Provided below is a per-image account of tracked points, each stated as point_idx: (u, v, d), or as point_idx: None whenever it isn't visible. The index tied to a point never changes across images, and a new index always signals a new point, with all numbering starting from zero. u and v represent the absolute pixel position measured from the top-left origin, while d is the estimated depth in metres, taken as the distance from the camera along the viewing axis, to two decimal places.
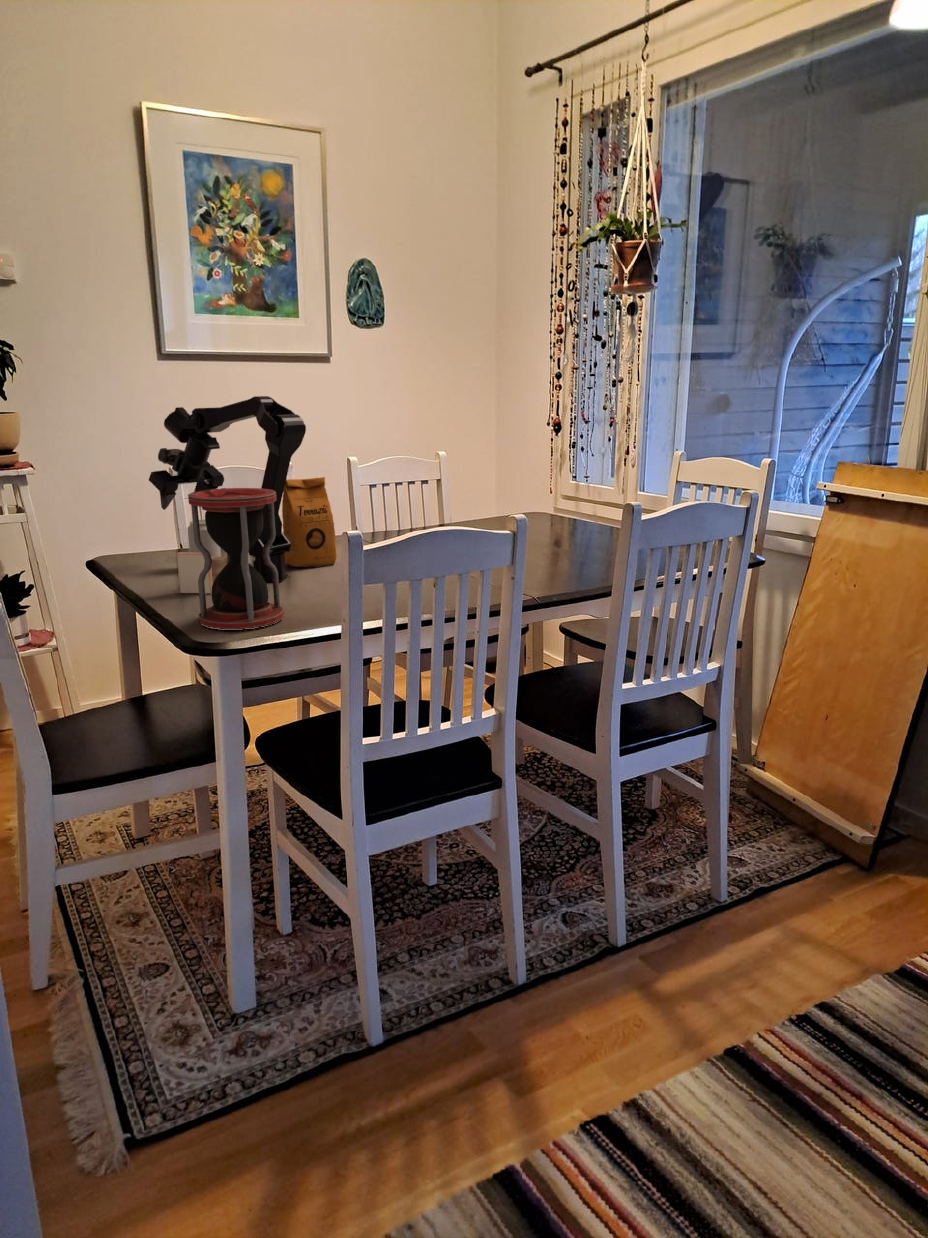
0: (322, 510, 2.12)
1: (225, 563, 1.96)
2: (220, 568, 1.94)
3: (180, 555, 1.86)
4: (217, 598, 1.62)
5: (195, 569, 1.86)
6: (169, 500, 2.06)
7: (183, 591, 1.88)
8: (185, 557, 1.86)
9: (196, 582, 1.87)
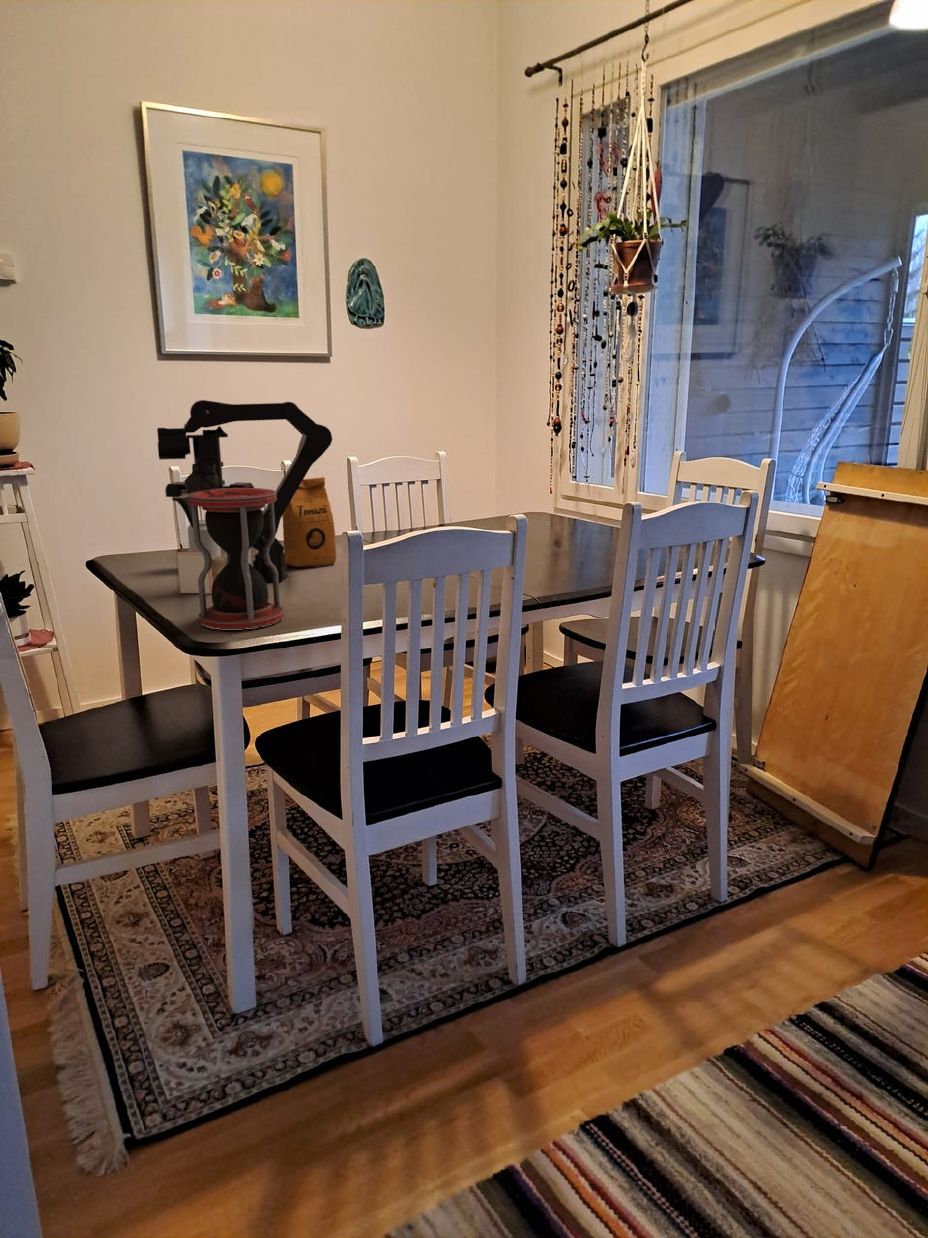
0: (322, 510, 2.12)
1: (225, 563, 1.96)
2: (220, 568, 1.94)
3: (180, 555, 1.86)
4: (217, 598, 1.62)
5: (195, 569, 1.86)
6: None
7: (183, 591, 1.88)
8: (185, 557, 1.86)
9: (196, 582, 1.87)
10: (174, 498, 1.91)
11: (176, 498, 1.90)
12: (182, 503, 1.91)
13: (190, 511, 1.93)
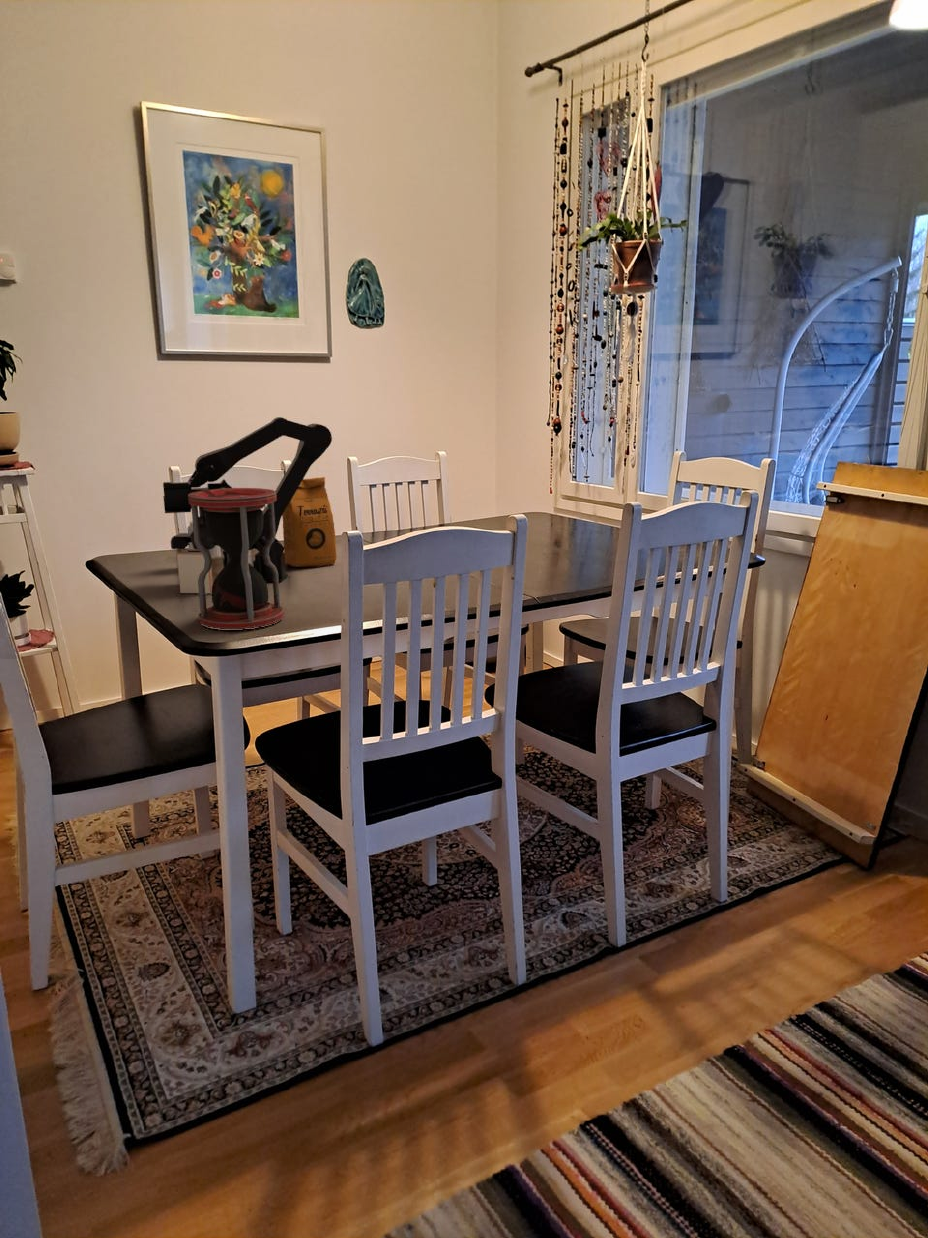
0: (322, 510, 2.12)
1: None
2: (220, 568, 1.94)
3: (180, 555, 1.86)
4: (217, 598, 1.62)
5: (195, 569, 1.86)
6: None
7: (183, 591, 1.88)
8: (185, 557, 1.86)
9: (196, 582, 1.87)
10: (189, 550, 1.93)
11: (192, 550, 1.93)
12: None
13: None
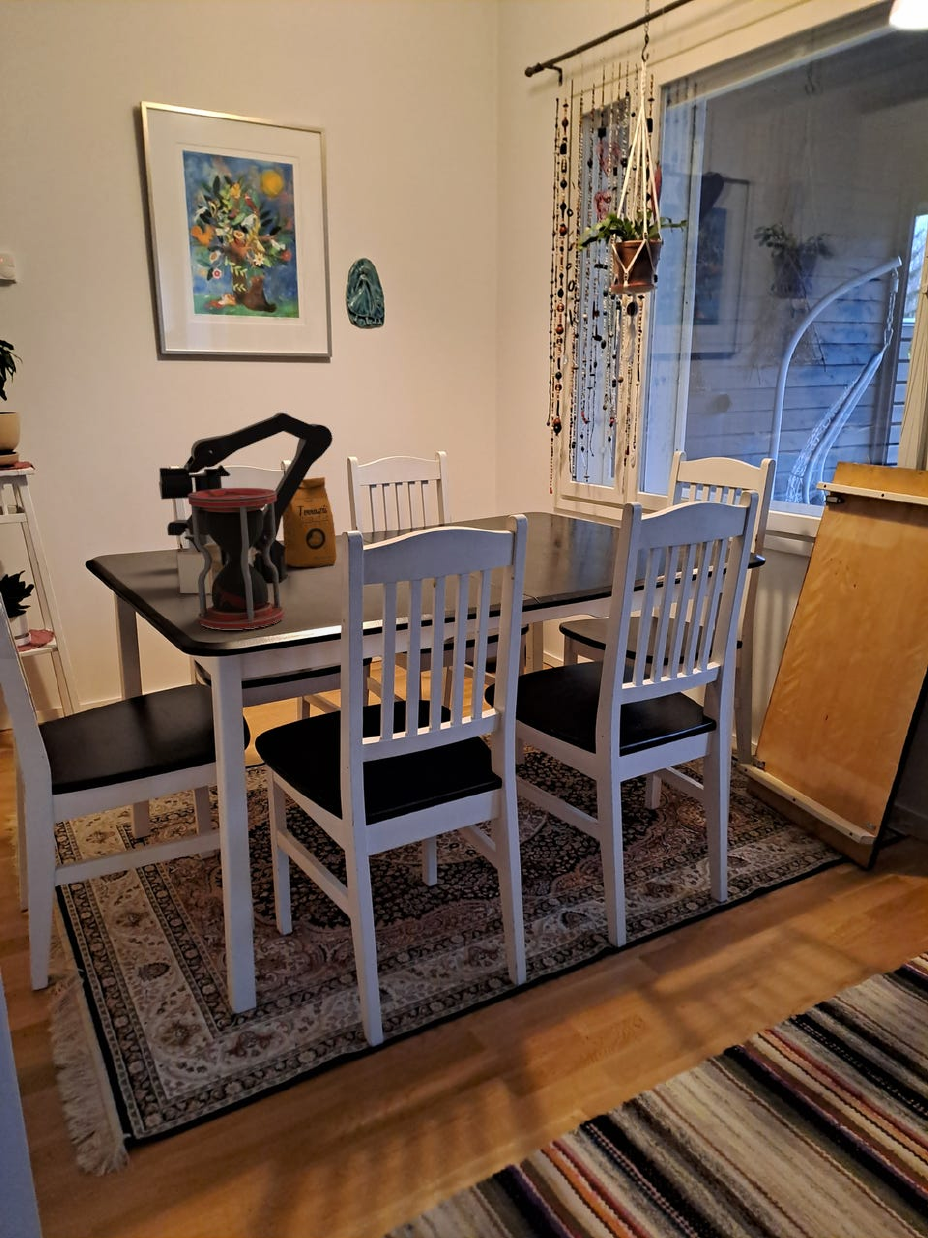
0: (322, 510, 2.12)
1: None
2: (217, 554, 1.92)
3: (180, 555, 1.86)
4: (217, 598, 1.62)
5: (195, 569, 1.86)
6: None
7: (183, 591, 1.88)
8: (185, 557, 1.86)
9: (196, 582, 1.87)
10: (186, 536, 1.91)
11: (188, 537, 1.91)
12: (194, 542, 1.92)
13: None
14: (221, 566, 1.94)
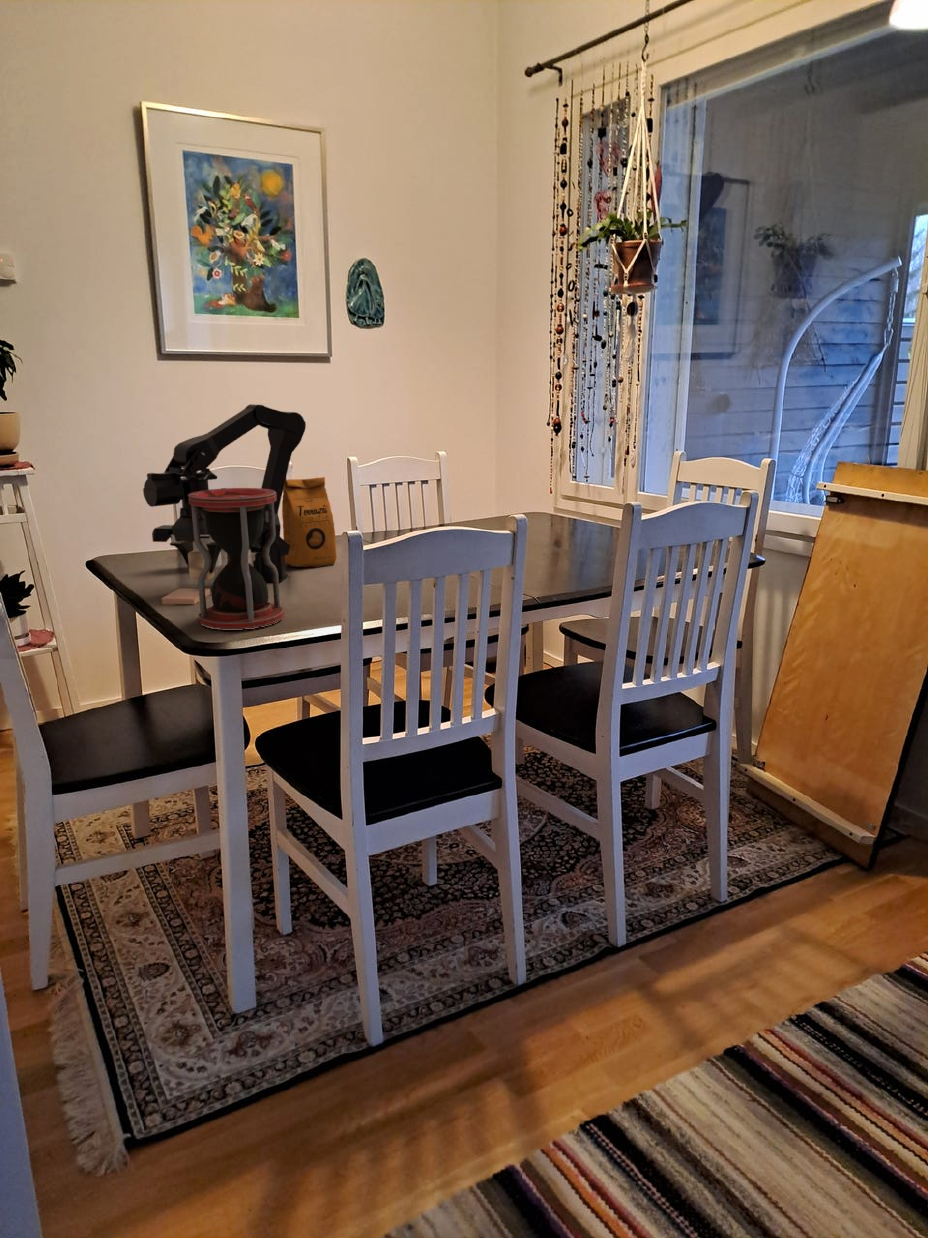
0: (322, 510, 2.12)
1: None
2: (204, 561, 1.85)
3: None
4: (217, 598, 1.62)
5: None
6: None
7: None
8: None
9: None
10: (172, 543, 1.84)
11: (174, 543, 1.84)
12: (180, 548, 1.85)
13: None
14: (208, 573, 1.86)
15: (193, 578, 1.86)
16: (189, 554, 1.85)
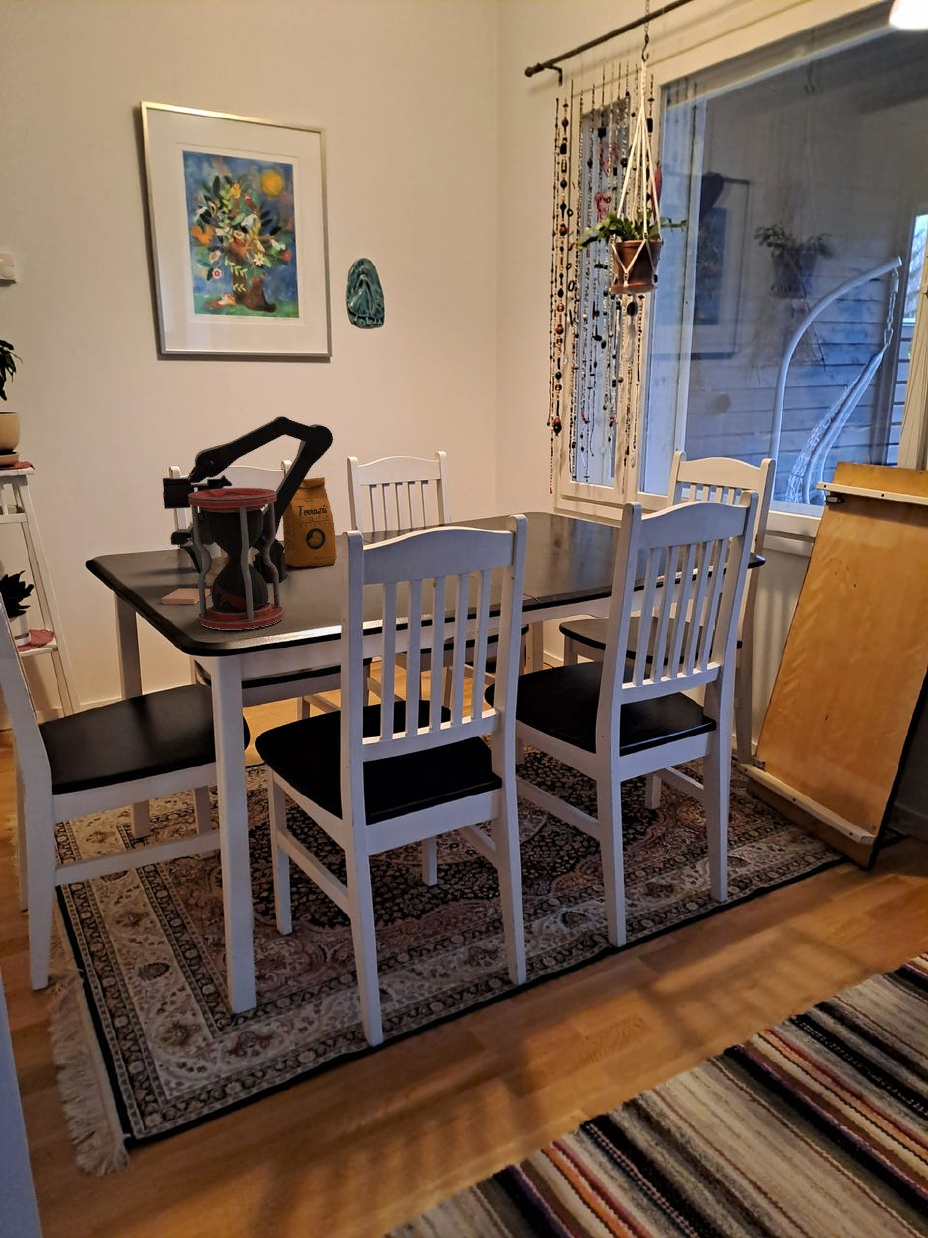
0: (322, 510, 2.12)
1: (225, 563, 1.96)
2: (220, 568, 1.94)
3: None
4: (217, 598, 1.62)
5: None
6: None
7: None
8: None
9: None
10: (181, 546, 1.93)
11: (183, 546, 1.93)
12: (189, 551, 1.94)
13: (197, 558, 1.95)
14: None
15: (209, 584, 1.96)
16: None
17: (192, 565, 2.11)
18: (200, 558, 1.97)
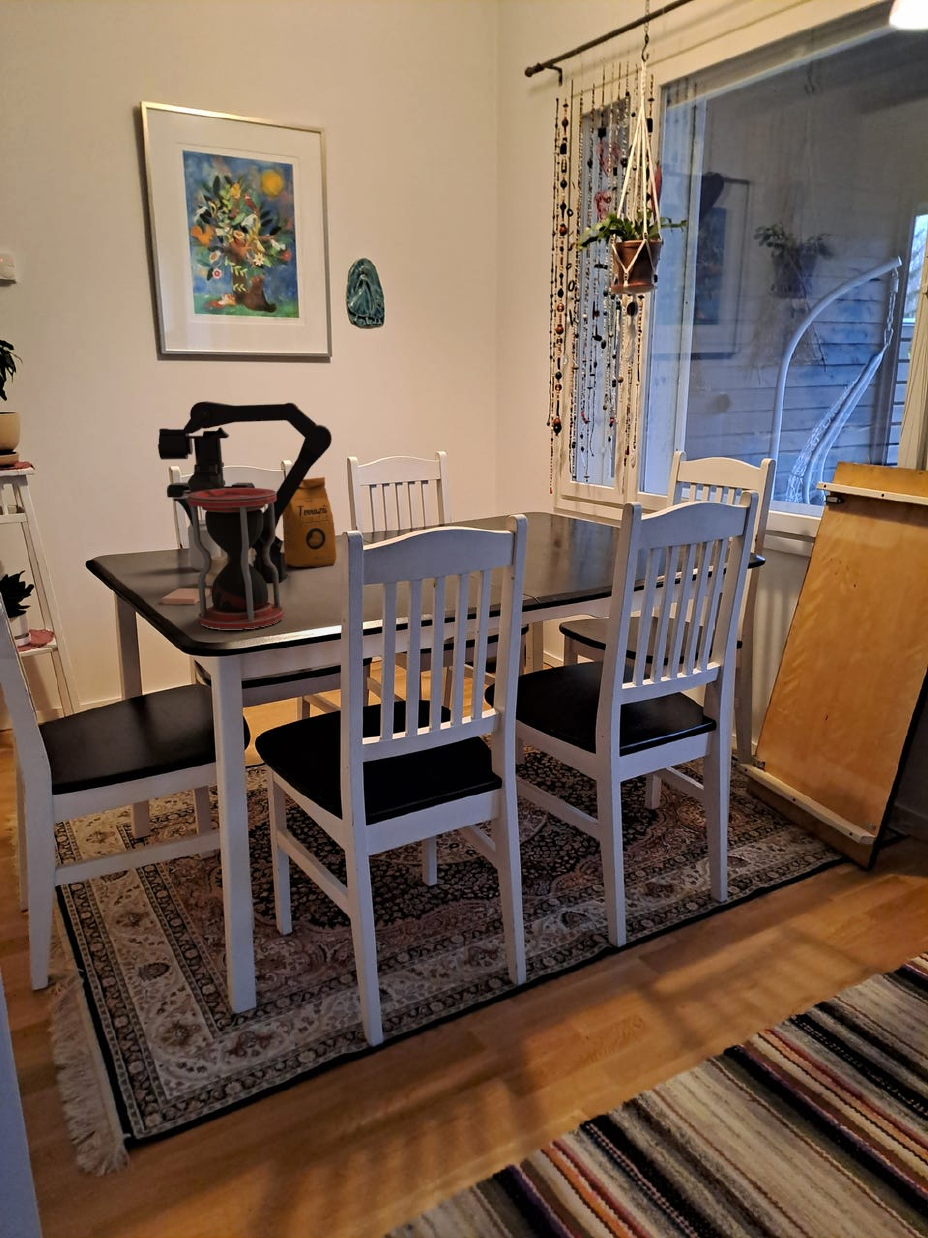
0: (322, 510, 2.12)
1: (225, 563, 1.96)
2: (220, 568, 1.94)
3: None
4: (217, 598, 1.62)
5: None
6: None
7: None
8: None
9: None
10: (175, 498, 1.92)
11: (178, 499, 1.92)
12: (183, 504, 1.93)
13: (191, 511, 1.95)
14: None
15: (209, 584, 1.96)
16: None
17: (192, 565, 2.11)
18: None
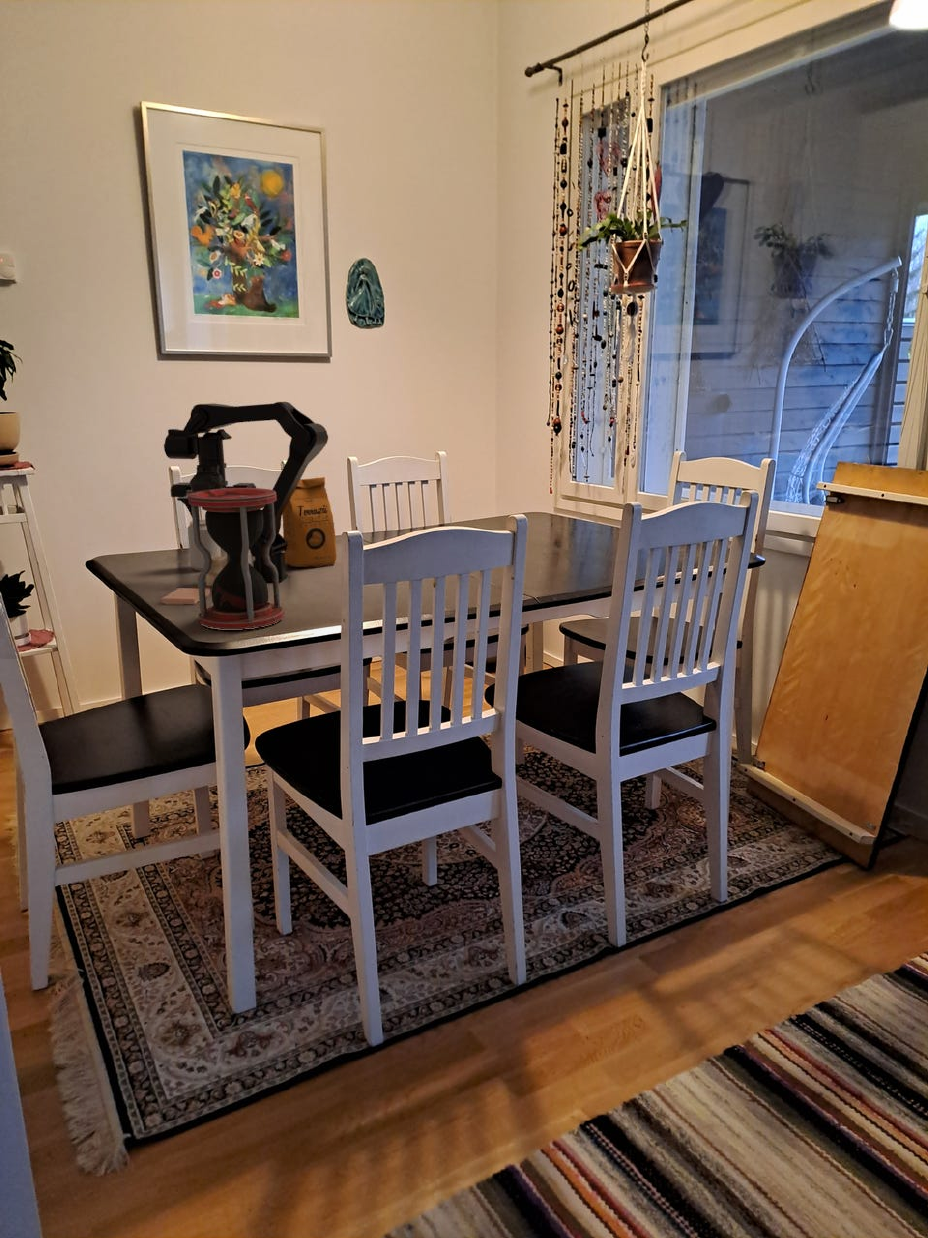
0: (322, 510, 2.12)
1: (225, 563, 1.96)
2: (220, 568, 1.94)
3: None
4: (217, 598, 1.62)
5: None
6: None
7: None
8: None
9: None
10: (179, 498, 1.97)
11: (181, 498, 1.97)
12: (186, 503, 1.98)
13: None
14: None
15: (209, 584, 1.96)
16: None
17: (192, 565, 2.11)
18: None
